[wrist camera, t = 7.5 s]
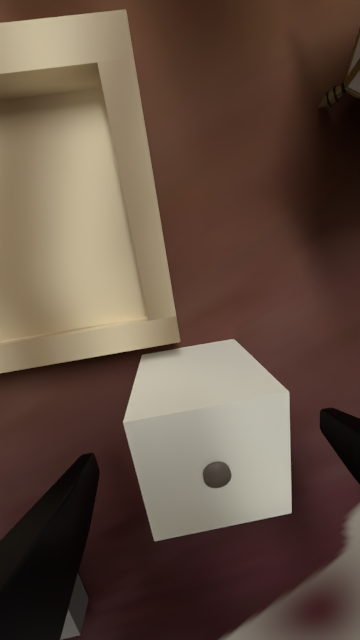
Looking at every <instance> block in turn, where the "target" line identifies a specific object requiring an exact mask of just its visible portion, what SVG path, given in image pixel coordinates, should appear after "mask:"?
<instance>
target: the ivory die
mask: <svg viewBox="0 0 360 640" xmlns="http://www.w3.org/2000/svg"><path fill="white" fill-rule="evenodd" d="M123 424H124V428H125V432H126V436H127V439H128V443H129V447H130V451H131V455H132V459H133V462H134V466H135V470H136V474H137V478H138V481H139V485H140V489H141V493H142V497H143V500H144V504H145V508H146V512H147V516H148V519H149V523H150V527H151V531H152V535H153V538H154V542H155V541H159V540H164V539H169V538H174V537H179V536H184V535H188V534H193V533H198V532H203V531H208V530H213V529H217V528H222V527H227V526H232V525H237V524H242V523H246V522H251V521H256V520H261V519H266V518H271V517H275V516H280V515H285V514H290V513H292V496H291V451H290V406H289V391H288V390H287V389H286V388H285V387H284V386H282V385H281V384H280V383H279V382H278V381H277V380H276V379H275V378H274V377H273V376H272V375H271V374H270V373H269V372H268V371H267V370H266V369H265V368H264V367H263V366H262V365H261V364H260V363H258V362H257V361H256V360H255V359H254V358H253V357H252V356H251V355H250V354H249V353H248V352H247V351H246V350H245V349H244V348H243V347H242V346H241V345H240V344H239V343H238V342H237V341H236V340H234V339H230V340H224V341H219V342H213V343H207V344H201V345H195V346H190V347H184V348H178V349H172V350H166V351H161V352H155V353H149V354H143V355H142V356H141V360H140V363H139V367H138V370H137V374H136V378H135V381H134V385H133V388H132V392H131V396H130V399H129V403H128V406H127V410H126V414H125V417H124V421H123Z"/></svg>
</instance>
